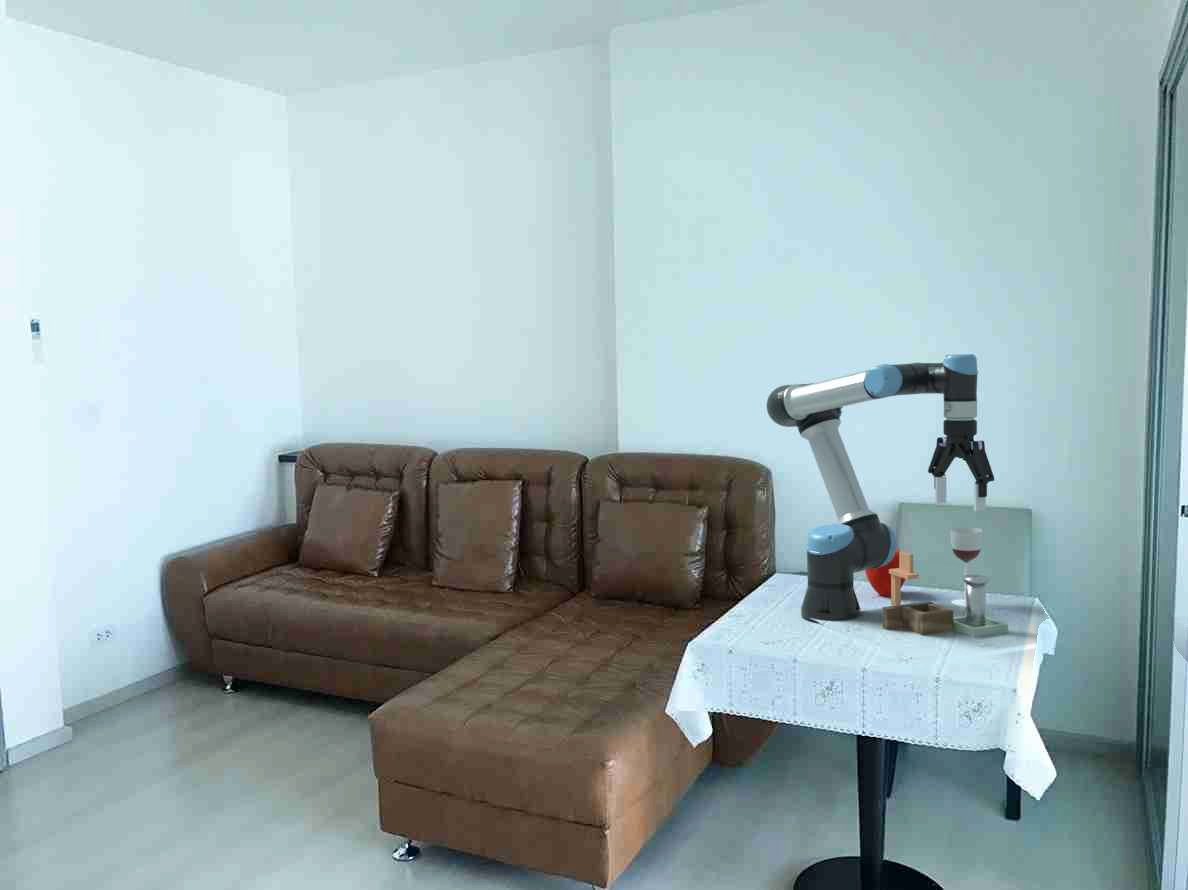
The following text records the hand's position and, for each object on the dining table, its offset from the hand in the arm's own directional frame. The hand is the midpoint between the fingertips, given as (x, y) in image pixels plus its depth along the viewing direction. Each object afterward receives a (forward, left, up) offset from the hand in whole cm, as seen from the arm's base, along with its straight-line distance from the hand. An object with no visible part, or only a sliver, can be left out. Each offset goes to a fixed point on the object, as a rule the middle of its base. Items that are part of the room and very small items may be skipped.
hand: (959, 507), depth 235 cm
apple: (-38, +7, -31) cm, 49 cm away
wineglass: (-21, +20, -31) cm, 42 cm away
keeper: (-4, -13, -24) cm, 28 cm away
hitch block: (-3, -10, -31) cm, 32 cm away
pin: (+3, +2, -30) cm, 30 cm away
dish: (+3, +3, -31) cm, 31 cm away
